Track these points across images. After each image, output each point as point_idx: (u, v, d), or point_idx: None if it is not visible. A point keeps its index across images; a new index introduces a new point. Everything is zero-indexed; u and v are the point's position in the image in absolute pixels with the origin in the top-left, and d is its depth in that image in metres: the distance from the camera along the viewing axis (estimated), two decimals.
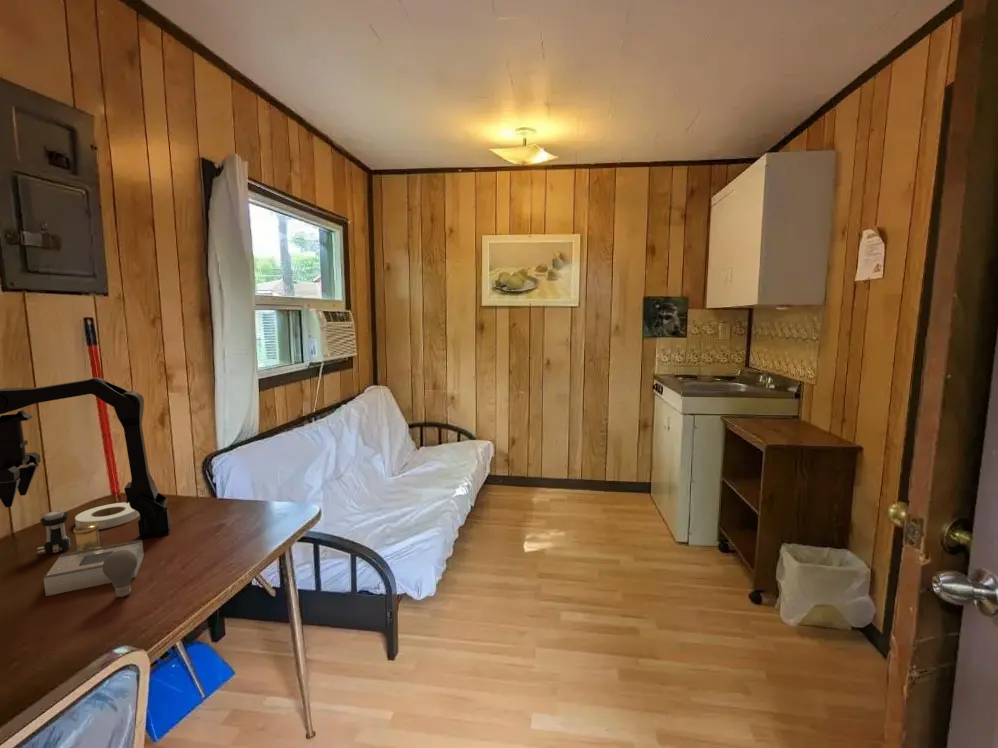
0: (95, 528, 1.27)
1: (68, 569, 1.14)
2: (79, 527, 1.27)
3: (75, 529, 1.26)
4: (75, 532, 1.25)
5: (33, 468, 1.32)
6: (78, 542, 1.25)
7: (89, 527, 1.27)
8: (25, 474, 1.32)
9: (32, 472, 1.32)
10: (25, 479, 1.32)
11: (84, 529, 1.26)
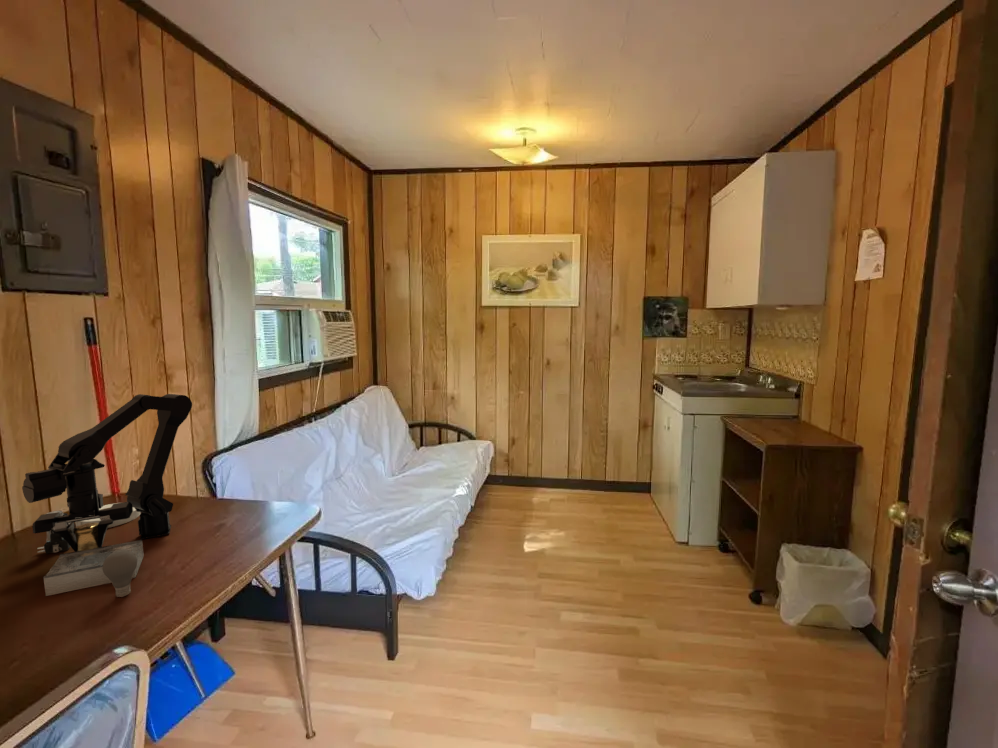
0: (95, 528, 1.27)
1: (68, 569, 1.14)
2: (79, 527, 1.27)
3: (75, 529, 1.26)
4: (75, 532, 1.25)
5: None
6: (78, 542, 1.25)
7: (89, 527, 1.27)
8: None
9: None
10: None
11: (84, 529, 1.26)
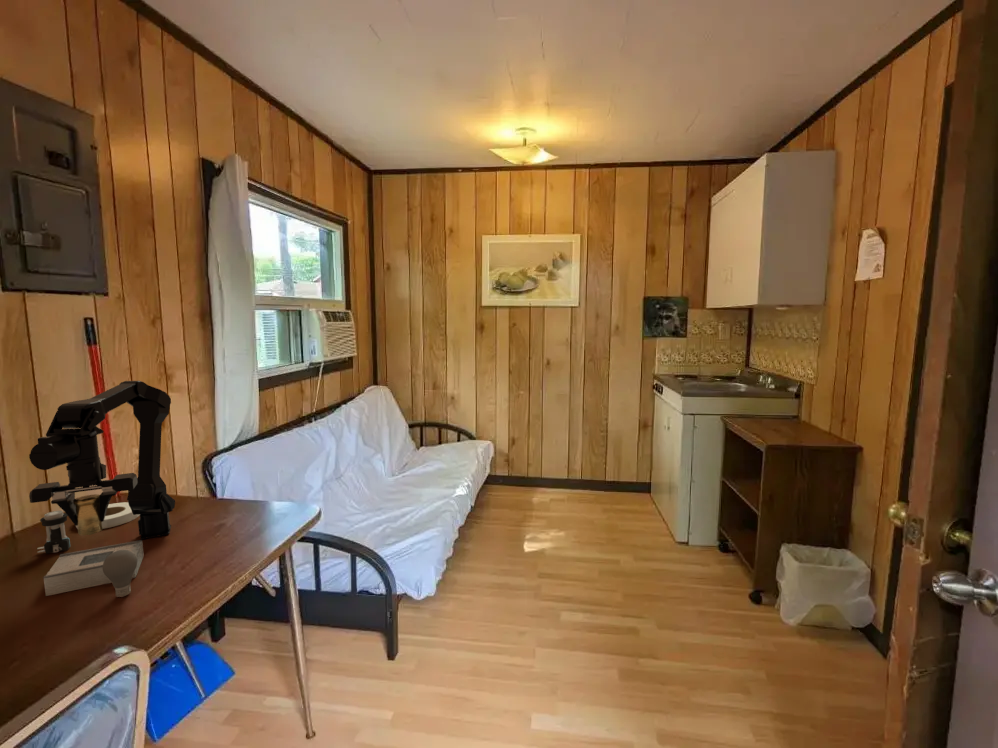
0: (97, 499, 1.18)
1: (68, 569, 1.14)
2: (79, 498, 1.18)
3: (75, 500, 1.17)
4: (75, 503, 1.16)
5: (99, 496, 1.17)
6: (78, 514, 1.16)
7: (90, 498, 1.18)
8: None
9: None
10: None
11: (85, 500, 1.16)
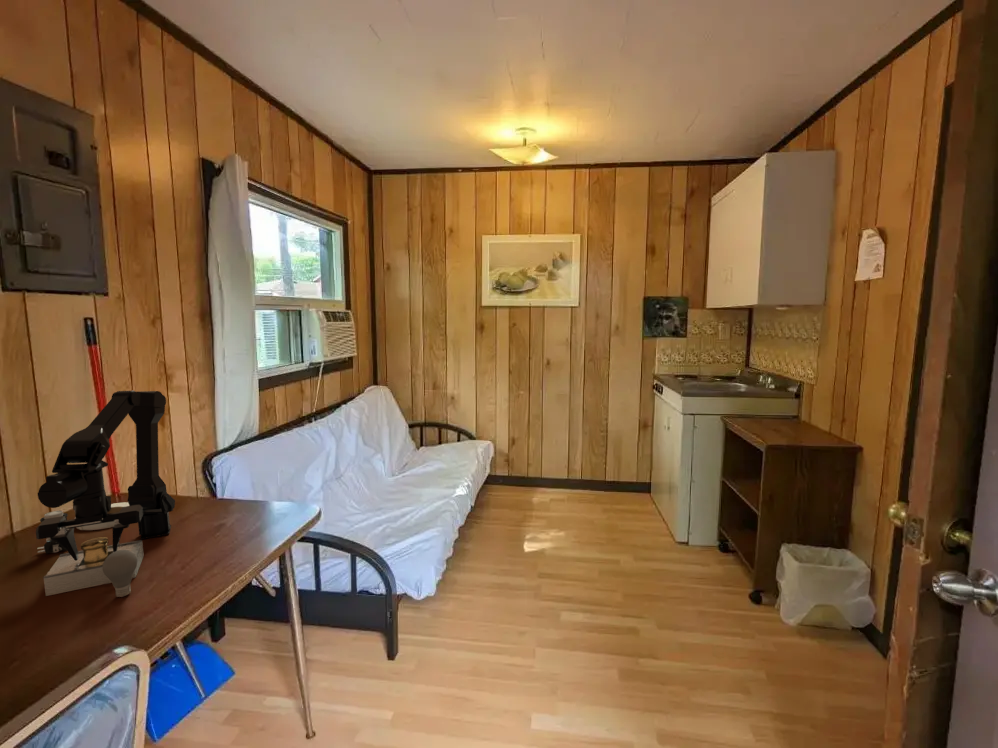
0: (104, 543, 1.18)
1: (68, 569, 1.14)
2: (87, 542, 1.18)
3: (83, 544, 1.17)
4: (83, 548, 1.16)
5: None
6: (86, 558, 1.17)
7: (98, 542, 1.18)
8: None
9: None
10: None
11: (92, 544, 1.17)
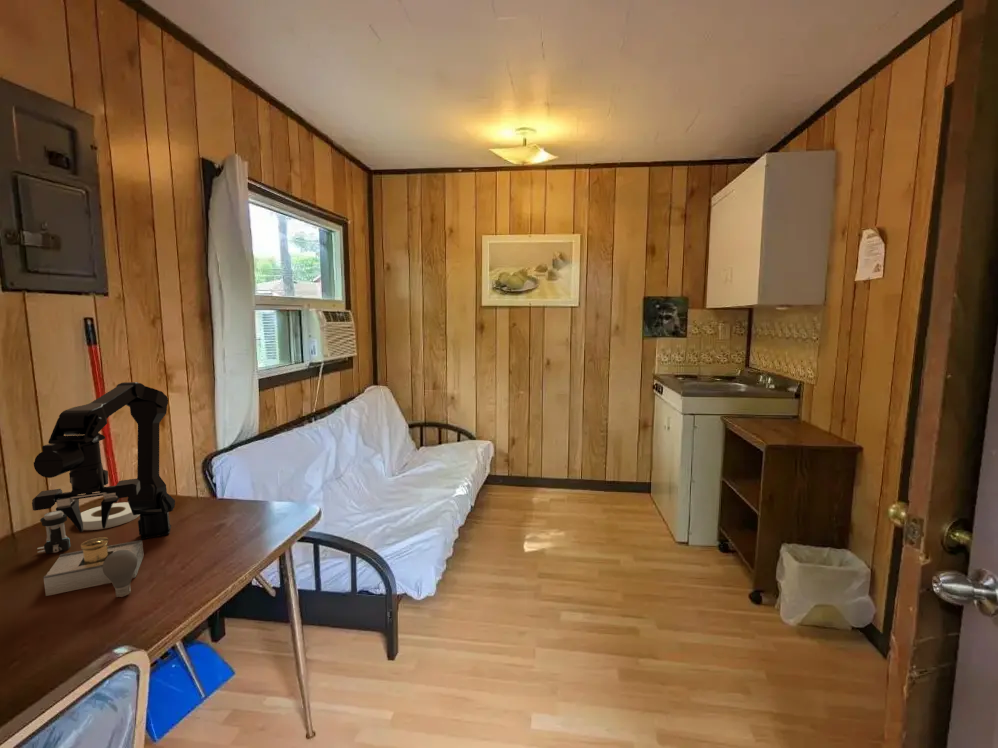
0: (104, 543, 1.18)
1: (68, 569, 1.14)
2: (87, 542, 1.18)
3: (83, 545, 1.17)
4: (83, 548, 1.16)
5: (101, 503, 1.16)
6: (86, 559, 1.17)
7: (98, 542, 1.18)
8: None
9: (101, 507, 1.17)
10: None
11: (92, 545, 1.17)
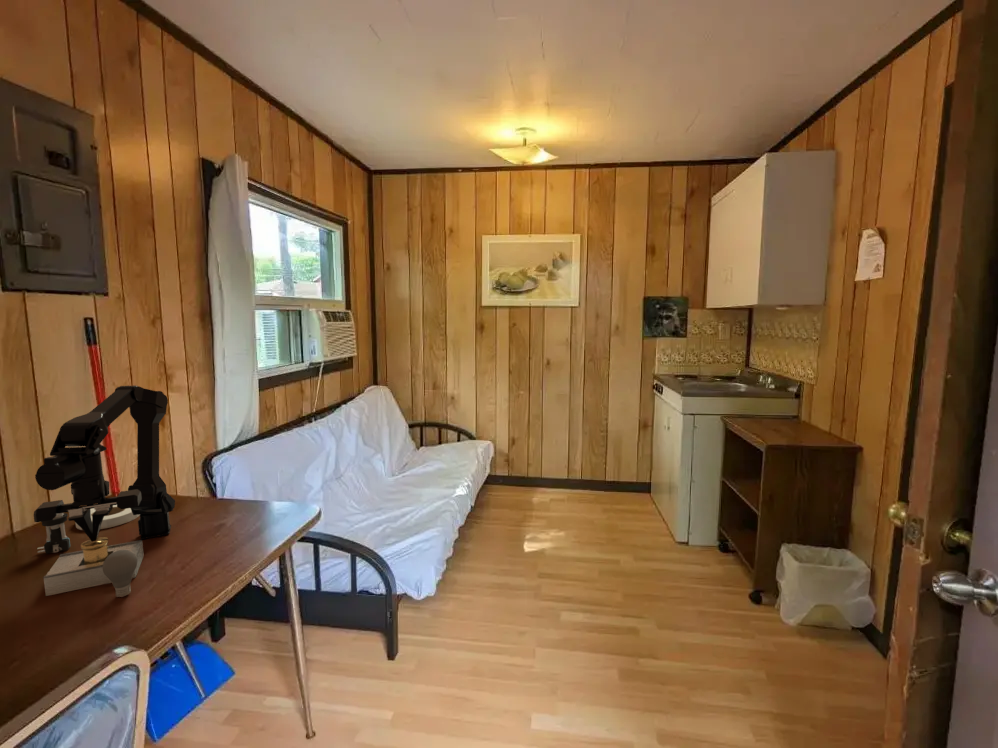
0: (104, 543, 1.18)
1: (68, 569, 1.14)
2: (87, 542, 1.18)
3: (83, 545, 1.17)
4: (83, 548, 1.16)
5: (92, 516, 1.16)
6: (86, 559, 1.17)
7: (98, 542, 1.18)
8: None
9: None
10: None
11: (92, 545, 1.17)
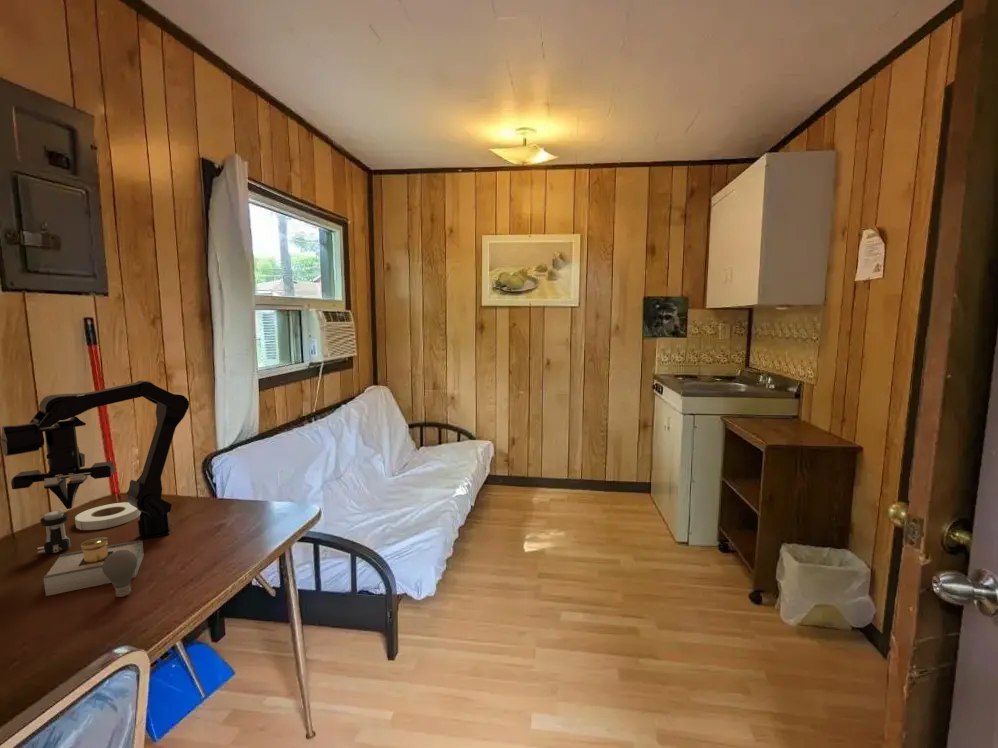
0: (104, 543, 1.18)
1: (68, 569, 1.14)
2: (86, 542, 1.18)
3: (83, 545, 1.17)
4: (83, 548, 1.16)
5: (67, 485, 1.23)
6: (86, 559, 1.17)
7: (98, 542, 1.18)
8: None
9: (67, 488, 1.24)
10: None
11: (92, 545, 1.17)
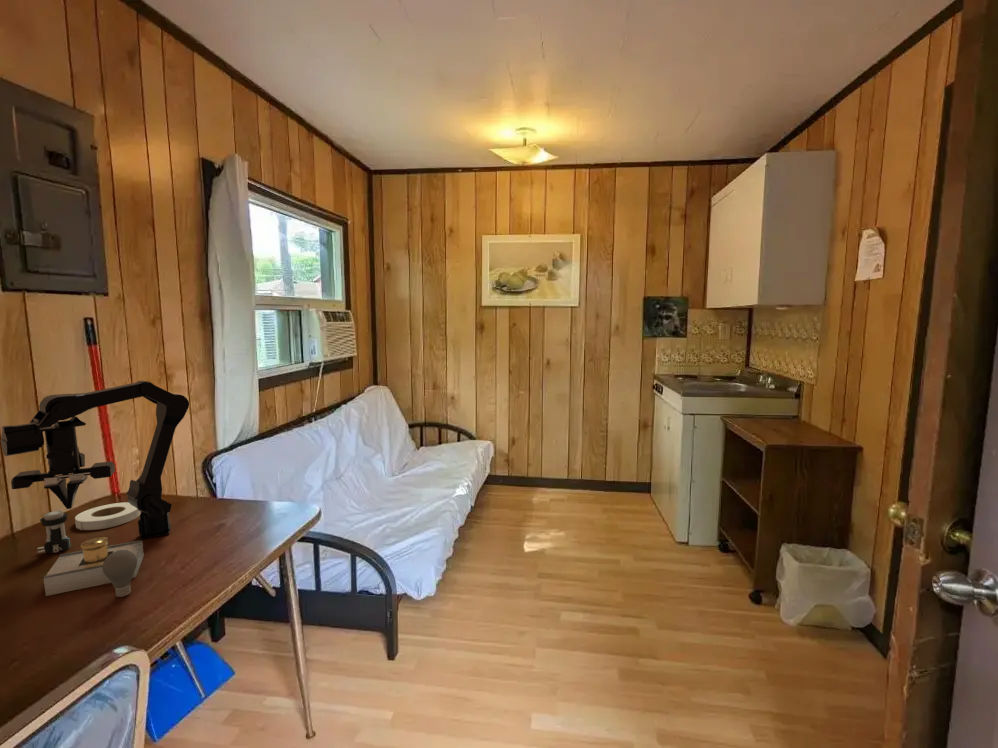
0: (104, 543, 1.18)
1: (68, 569, 1.14)
2: (86, 542, 1.18)
3: (83, 545, 1.17)
4: (83, 548, 1.16)
5: (67, 485, 1.23)
6: (86, 559, 1.17)
7: (98, 542, 1.18)
8: None
9: (67, 488, 1.24)
10: None
11: (92, 545, 1.17)
